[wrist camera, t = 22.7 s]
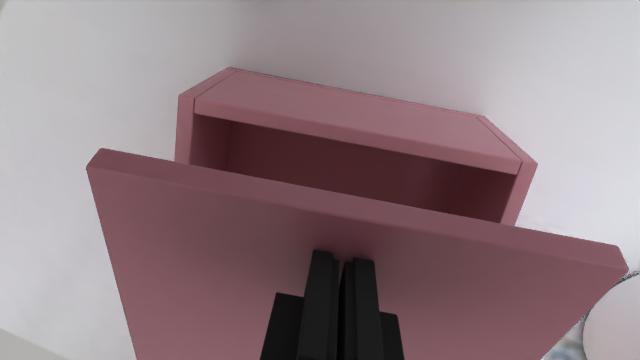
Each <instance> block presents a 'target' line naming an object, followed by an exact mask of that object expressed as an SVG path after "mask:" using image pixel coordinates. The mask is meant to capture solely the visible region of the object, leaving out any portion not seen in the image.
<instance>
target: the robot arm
mask: <svg viewBox="0 0 640 360" xmlns="http://www.w3.org/2000/svg"><path fill="white" fill-rule="evenodd" d="M339 265H340V260H338V259H333V253H329V252H324V251H319V250H313V252H312V257H311V262H310V267H309V272H308V277H307V282H306V287H305V292H304V297H301V296H295V295H290V294H285V293H279V292H276V295H275V299H274V303H273V307H272V311H271V315H270V319H269V323H268V327H267V331H266V335H265V339H264V344H263V348H262V352H261V356H260V360H405V358H404V352H403V346H402V339H401V333H400V327H399V321H398V317H397V315H396V314H392V313H387V312H382V311H379V302H378V292H377V283H376V273H375V263H374V261H372V260H367V259H361V258H356V257H354V258H353V261H352V262H348V261H345V264H344V268H343V272H342V276H341V280H340V285H339Z"/></svg>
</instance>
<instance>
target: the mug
mask: <svg viewBox="0 0 640 360" xmlns="http://www.w3.org/2000/svg"><path fill="white" fill-rule="evenodd" d="M583 347H584V351H585V354H586V357H587V359H588V360H640V274H639V275H636V276H634V277H632V278H629V279H627V280H625V281H623V282H621V283H620V284H618V285H616V286H615V287H613V288H612V289H611V290H609V291H608V292H607V293H606V294H605V295H604V296H603V297H602V298H601V299H600V300H599V301H598V302H597V303H596V304H595V305H594V307H593V308H592V310H591V311H590V313H589V315H588V317H587V319H586V322H585V325H584V331H583Z"/></svg>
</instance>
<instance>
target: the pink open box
mask: <svg viewBox="0 0 640 360" xmlns="http://www.w3.org/2000/svg"><path fill="white" fill-rule="evenodd" d="M175 162H179V163H184V164H189V165H194V166H200V167H205V168H210V169H215V170H221V171H226V172H231V173H237V174H242V175H247V176H252V177H258V178H263V179H268V180H273V181H279V182H284V183H289V184H294V185H300V186H305V187H310V188H315V189H321V190H326V191H331V192H337V193H342V194H347V195H352V196H358V197H363V198H368V199H373V200H379V201H384V202H389V203H394V204H400V205H405V206H410V207H415V208H421V209H426V210H431V211H436V212H442V213H447V214H452V215H458V216H463V217H468V218H473V219H479V220H484V221H489V222H494V223H500V224H505V225H510V226H514V225H515V223H516V220H517V218H518V215H519V212H520V210H521V207H522V205H523V202H524V199H525V197H526V194H527V192H528V189H529V186H530V184H531V181H532V179H533V176H534V173H535V171H536V168H537V166H538V163H537V162H535V161H534V160H533V159H532V158H531V157H530V156H529V155H528V154H526V153H525V152H524V151H523V150H522V149H521V148H520V147H519V146H517V145H516V144H515V143H514V142H513V141H512V140H511V139H509V138H508V137H507V136H506V135H505V134H504V133H503V132H502V131H500V130H499V129H498V128H497V127H496V126H495V125H494V124H493V123H491V122H490V121H489V120H488V119H487V118H486V117H485V116H480V115H474V114H469V113H464V112H459V111H453V110H448V109H443V108H438V107H433V106H427V105H422V104H417V103H412V102H407V101H401V100H396V99H391V98H386V97H380V96H375V95H370V94H365V93H360V92H354V91H349V90H344V89H339V88H333V87H328V86H323V85H318V84H313V83H307V82H302V81H297V80H292V79H287V78H281V77H276V76H271V75H266V74H260V73H255V72H250V71H245V70H240V69H234V68H229V67H228V68H226V69H224V70H223V71H221V72H219V73H217V74H216V75H214V76H212V77H210V78H208V79H207V80H205V81H203V82H201V83H200V84H198V85H196V86H194V87H192V88H191V89H189V90H187V91H185V92H184V93H182V94H180V95H179V97H178V113H177V129H176V146H175Z"/></svg>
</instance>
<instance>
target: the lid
mask: <svg viewBox="0 0 640 360" xmlns="http://www.w3.org/2000/svg"><path fill="white" fill-rule="evenodd" d="M86 170H87V174H88V178H89V181H90V185H91V189H92V193H93V196H94V200H95V204H96V208H97V211H98V215H99V219H100V223H101V227H102V230H103V234H104V238H105V242H106V245H107V249H108V253H109V257H110V260H111V264H112V268H113V272H114V275H115V279H116V283H117V287H118V290H119V294H120V298H121V302H122V305H123V309H124V313H125V317H126V320H127V324H128V328H129V332H130V335H131V339H132V343H133V347H134V350H135V354H136V358H137V360H260V356H261V352H262V348H263V344H264V339H265V335H266V331H267V327H268V323H269V319H270V315H271V311H272V307H273V303H274V299H275V295H276V292H279V293H285V294H290V295H295V296H301V297H304V292H305V287H306V282H307V277H308V272H309V267H310V262H311V257H312V252H313V250H319V251H324V252H329V253H333V259H338V260H340V265H339V285H340V280H341V276H342V272H343V268H344V264H345V261H348V262H352V261H353V258H354V257H356V258H361V259H367V260H372V261H374V263H375V273H376V283H377V292H378V302H379V311H382V312H387V313H392V314H396V315H397V317H398V321H399V327H400V333H401V339H402V346H403V352H404V358H405V360H540V359H541V358H542V357H543V356H544V355H545V354H546V353H547V352H548V351H549V350H550V349H551V348H552V347H553V346H554V345H555V344H556V343H557V342H558V341H559V340H560V339H561V338H562V337H563V336H564V335H565V334H566V333H567V332H568V331H569V330H570V329H571V328H572V327H573V326H574V325H575V324H576V323H577V322H578V321H579V320H580V319H581V318H582V317H583V316H584V315H585V314H586V313H587V312H588V311H589V310H590V309H591V308H592V307H593V306H594V305H595V304H596V303H597V302H598V301H599V300H600V299H601V298H602V297H603V296H604V295H605V294H606V293H607V292H608V291H609V290H610V289H611V288H612V287H613V286H614V285H615V284H616V283H617V282H618V281H619V280H620V279H621V278H622V277H623V276H624V275H625V274H626V273H627V272H628V270H629V268H628V266H627V264H626V262H625V259H624V257H623V255H622V253H621V251H620V249H619V247H617V246H615V245H610V244H605V243H600V242H594V241H589V240H584V239H579V238H573V237H568V236H563V235H558V234H552V233H547V232H542V231H536V230H531V229H526V228H521V227H515V226H510V225H505V224H500V223H494V222H489V221H484V220H479V219H473V218H468V217H463V216H458V215H452V214H447V213H442V212H436V211H431V210H426V209H421V208H415V207H410V206H405V205H400V204H394V203H389V202H384V201H379V200H373V199H368V198H363V197H358V196H352V195H347V194H342V193H337V192H331V191H326V190H321V189H315V188H310V187H305V186H300V185H294V184H289V183H284V182H279V181H273V180H268V179H263V178H258V177H252V176H247V175H242V174H237V173H231V172H226V171H221V170H215V169H210V168H205V167H200V166H194V165H189V164H184V163H179V162H173V161H168V160H163V159H158V158H152V157H147V156H142V155H137V154H131V153H126V152H121V151H115V150H110V149H105V148H101V149H99V151H98V152H97V153H96V154H95V156H94V157H93V158H92V160H91V161H90V162H89V163H88V165H87V167H86Z"/></svg>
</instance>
